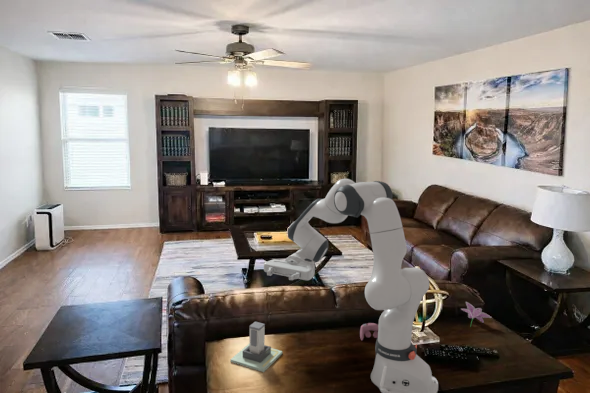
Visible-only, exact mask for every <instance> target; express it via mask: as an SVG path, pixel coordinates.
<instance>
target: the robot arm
mask: <svg viewBox="0 0 590 393" xmlns="http://www.w3.org/2000/svg"><path fill="white" fill-rule="evenodd" d="M348 216H349V217H353V218H359V217H360V216H364V218H365V219H366V221H367V226H368V231H369V236H370V242H371V248H372V255H373V256H372V257H373V258H372V259H373V260H372V261H373V262H372V263H373V264H372V271H371V274H370V278H369V279H368V282H367V283H366V285H365V287H364V298H365V300H366V302H367V304H368V305H369V306H370V307H371V308H372V309H374V310H375V311H382V313H381V315H380V316H379V319H378V324H379V326H378V338H376V339H375V340H376V341H375V346H374V347H375V349H374V350H375V359H374V365H373V369H372V371H371V373H370V379H371V383H373V384H374V385H375V386H376V387H377V388H378V389H379V391H380V392H381V393H438V392H439V381H438V380H437V378H436V377H435V376H433V375H432V374H433V373H432V370H431V366H430V365H429V364H428V363H427V362H426V361H425V360H423V359H422V358H421V356H419V355H418V354H417V348H418V344H417V343H416V344H415V345H414V344H413V343H412V332H413V326H414V320H415V317H416V313H417V311H418V309H419V306H420V304H421V302H422V300H423V297H424V296H425V295H426V294H427V292H428V291H429V288H430V279H429V277H428V275H427V274H426V272H425V271H424V270H423V269H421V268H419V267H403V268H402V265H403V264H402V263H403V259H404V258H405V256H406V254H407V252H408V247H407V242H406V237H405V232H404V226H403V223H402V220H401V215H400V212H399V210H398V207H397V205H396V202H395V201H394V200H393V191H392V188H391V187H390V186H389V184H388V183H386V182H385V181H379V180H378V181H377V180H375V181H364V182H363V181H359V182H356V181H354V180H352V179H350V178H340V179H338V180H337V181H336V182H335V183H334V184H333V186H332V187H331V188H330V189H329V191H328V192H327V194H326V196H325V198H317V199H314V200H313V201H312V203H310V204H309V206H307V207H306V209H304V210H303V212H302V213H301V214H300V216H299V217H297V219H296V220H295V221H292V223H291V224H290V225H289V227H288V229H287V238H288V239H289V240H290V241H292V242H293V243H295V244H296V245H297V246H298V247H299V248H300V249H298V250H297V251H296V252H293V253H292V254H291V255H289V256H288V257H286V258H285V259H284V260H283V259H282V260H281V259H271V260H267V261H266V262H264V263H263V271H264V272H265V273H266V276H268V277H269V276H270V277H271V276H273V274H274V275H277V276H284V277H286V278H288V280H289V281H294V280H297V279H298V280H303V281H310V280H312V279H313V277H314V276H315V270H316V265H315V264H316V263H318V262H319V261H321V260H322V259H323V258H324V257H325V255H326V254H327V252H328V250H329V240H328V239H327V238H326V237H325V236H323V235H322V234H321V233H319V231H317V230H316V229H315V228H314V227H312V226H311V225H310V223H309V221H311V219H312V218H313V217H314V218H317V219H320V220H321V221H324V222H326V223H329V224H340V223H342V222H344V221H345V220H346V219H347V218H348Z"/></svg>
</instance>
